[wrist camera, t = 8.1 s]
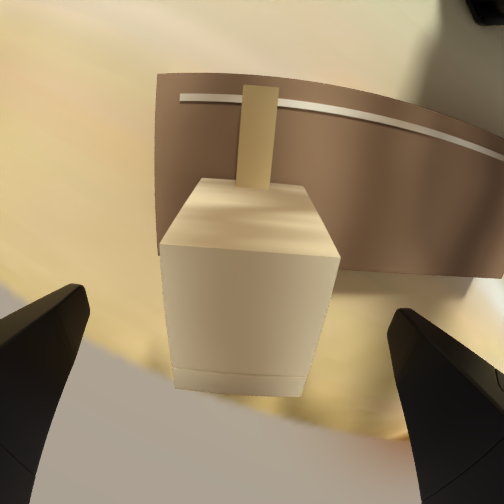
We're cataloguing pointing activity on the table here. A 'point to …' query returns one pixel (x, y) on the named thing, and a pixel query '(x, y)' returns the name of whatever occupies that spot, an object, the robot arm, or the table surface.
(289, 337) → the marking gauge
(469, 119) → the table surface
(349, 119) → the walnut board
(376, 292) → the table surface
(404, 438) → the table surface
